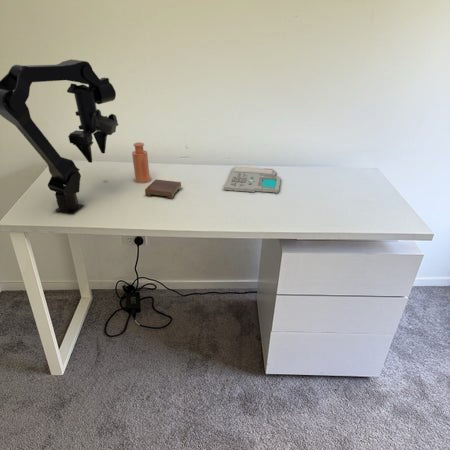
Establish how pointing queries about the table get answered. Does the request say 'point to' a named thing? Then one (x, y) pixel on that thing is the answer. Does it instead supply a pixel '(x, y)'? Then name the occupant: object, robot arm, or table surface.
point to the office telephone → (253, 180)
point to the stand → (163, 188)
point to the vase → (140, 163)
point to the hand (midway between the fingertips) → (97, 157)
